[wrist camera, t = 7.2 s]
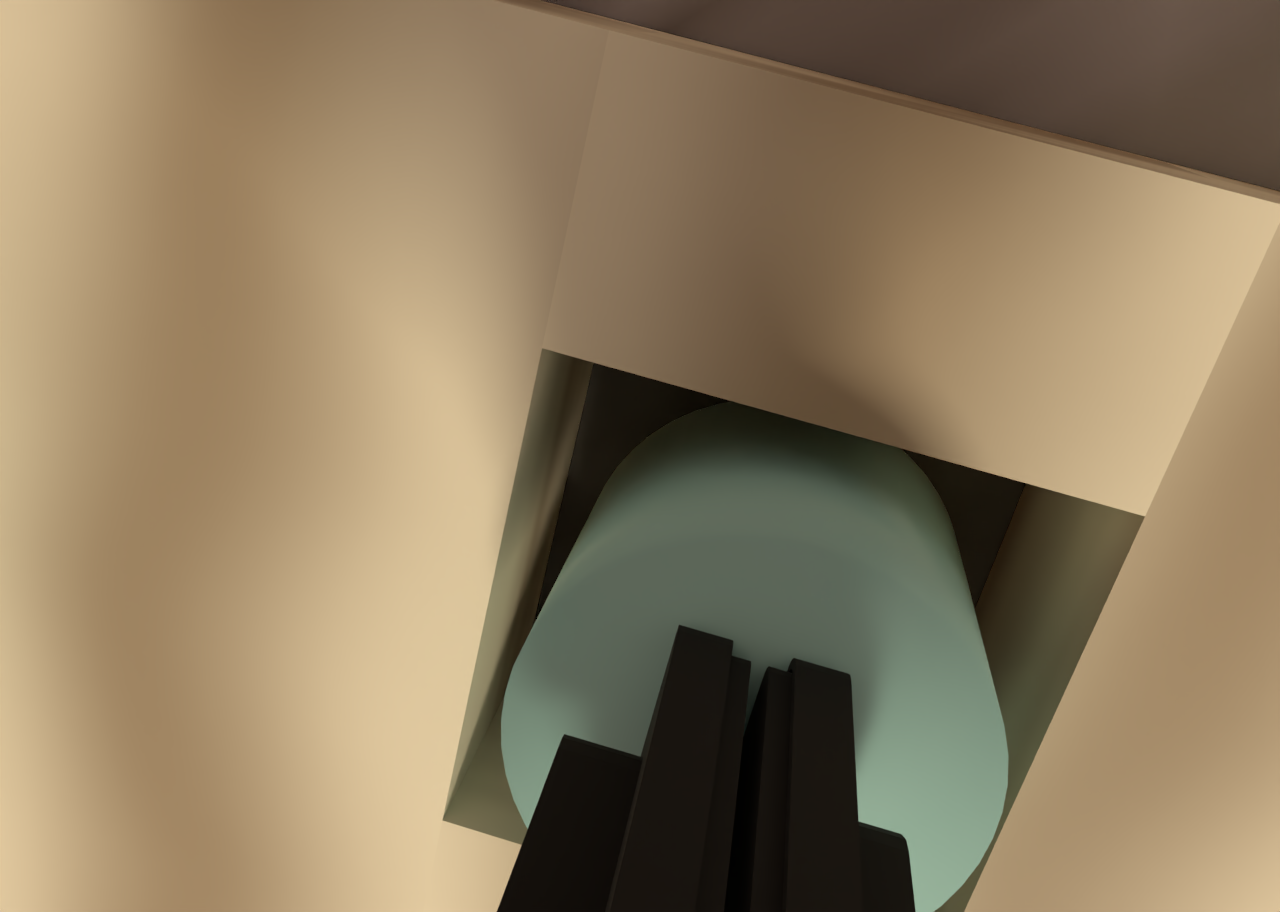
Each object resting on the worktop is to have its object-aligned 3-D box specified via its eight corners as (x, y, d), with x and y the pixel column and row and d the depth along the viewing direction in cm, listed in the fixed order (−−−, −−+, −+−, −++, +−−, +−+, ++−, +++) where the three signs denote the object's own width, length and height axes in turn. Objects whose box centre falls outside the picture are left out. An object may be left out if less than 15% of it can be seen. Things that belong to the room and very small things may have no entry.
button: (1017, 460, 13) (1090, 623, 9) (889, 778, 15) (910, 1019, 11) (630, 352, 13) (555, 470, 10) (551, 676, 15) (462, 880, 12)
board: (1412, 226, 13) (1647, 299, 9) (815, 1408, 22) (812, 1687, 18) (-440, -254, 14) (-877, -355, 11) (-285, 1038, 23) (-494, 1224, 20)
